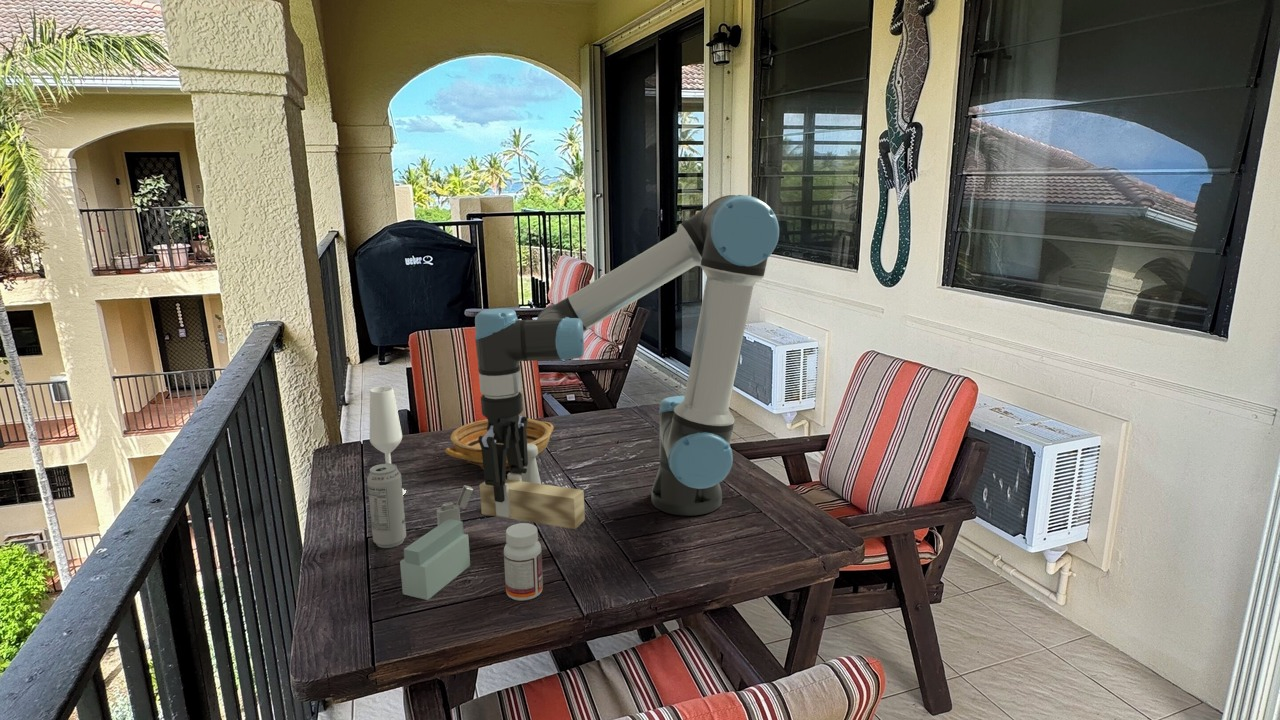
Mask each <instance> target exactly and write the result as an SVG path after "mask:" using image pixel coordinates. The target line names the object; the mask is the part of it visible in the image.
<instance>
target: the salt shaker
mask: <svg viewBox="0 0 1280 720" xmlns="http://www.w3.org/2000/svg"><path fill="white" fill-rule="evenodd" d="M527 453H528V465H527V466H524V468H525V469H527V472H526V473H522V481H523V482H530V483H537V484H542V481H541V477H540V473H539V467H538V463H537V459H536V458H537V457H538V456H539V455H538V448H537V446H536V445H534V444H527ZM537 455H538V456H537ZM536 456H537V457H536ZM535 457H536V458H535ZM522 460H523V459H522Z"/></svg>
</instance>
